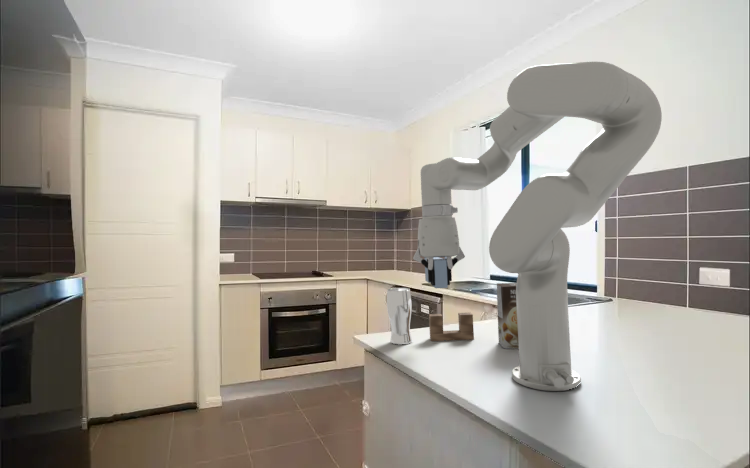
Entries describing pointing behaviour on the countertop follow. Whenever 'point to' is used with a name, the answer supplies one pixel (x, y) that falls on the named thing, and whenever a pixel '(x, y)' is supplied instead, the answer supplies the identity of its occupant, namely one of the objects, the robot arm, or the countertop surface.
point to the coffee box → (507, 315)
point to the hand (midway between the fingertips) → (440, 284)
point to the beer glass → (399, 314)
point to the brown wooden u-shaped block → (461, 334)
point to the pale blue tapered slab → (438, 272)
